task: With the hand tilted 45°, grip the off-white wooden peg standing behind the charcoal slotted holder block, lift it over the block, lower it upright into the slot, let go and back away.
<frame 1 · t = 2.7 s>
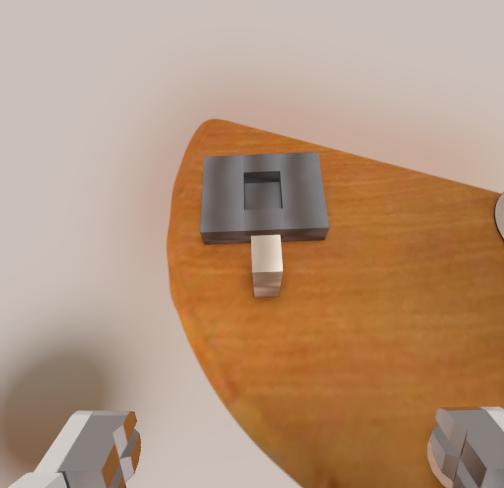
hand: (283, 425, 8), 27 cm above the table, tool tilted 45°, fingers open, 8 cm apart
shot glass: (455, 458, 30), on the table
slot holder: (262, 204, 44), on the table
peg: (266, 281, 39), on the table
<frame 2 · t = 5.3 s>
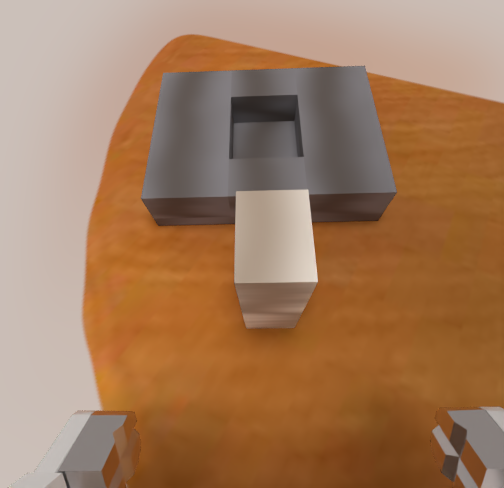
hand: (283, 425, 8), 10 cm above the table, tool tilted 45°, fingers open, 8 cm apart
slot holder: (264, 158, 25), on the table
peg: (269, 296, 20), on the table
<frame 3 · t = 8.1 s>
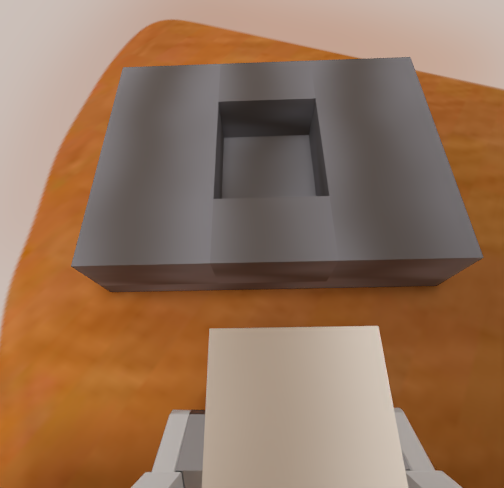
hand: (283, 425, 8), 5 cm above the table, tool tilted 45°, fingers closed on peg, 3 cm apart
slot holder: (267, 188, 18), on the table
peg: (276, 417, 13), on the table, touching gripper
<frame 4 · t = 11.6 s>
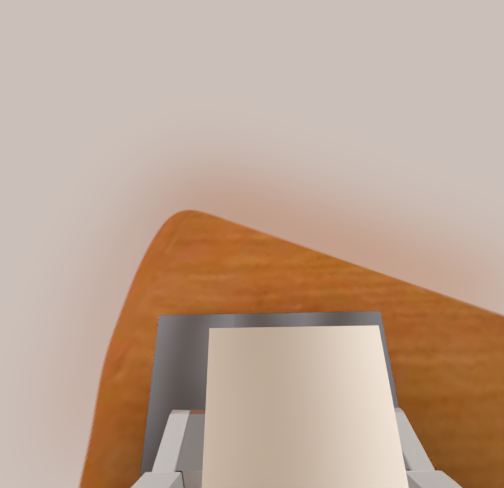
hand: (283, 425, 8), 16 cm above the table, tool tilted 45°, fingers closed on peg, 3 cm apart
slot holder: (270, 404, 23), on the table
peg: (276, 416, 13), point 11 cm above the table, touching gripper
when the fingers open (6 cm above the table, at t = 14.7 s): peg stays where it is, resting on slot holder.
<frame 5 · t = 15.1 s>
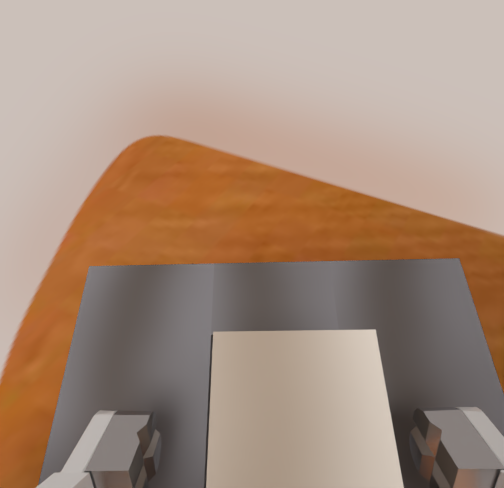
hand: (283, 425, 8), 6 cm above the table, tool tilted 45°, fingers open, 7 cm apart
slot holder: (274, 414, 14), on the table
peg: (277, 416, 13), point 1 cm above the table, touching slot holder
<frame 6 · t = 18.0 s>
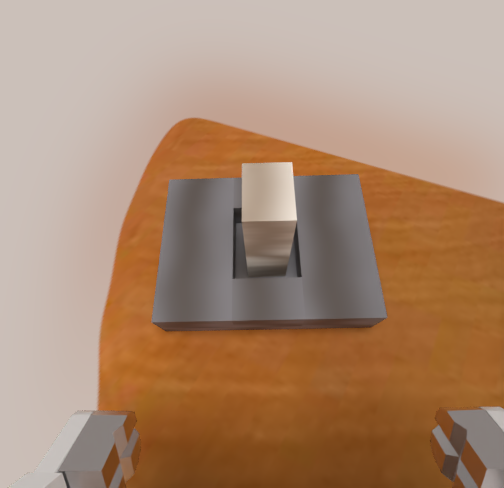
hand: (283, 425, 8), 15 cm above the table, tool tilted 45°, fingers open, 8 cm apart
slot holder: (265, 258, 27), on the table
peg: (266, 253, 26), point 1 cm above the table, touching slot holder
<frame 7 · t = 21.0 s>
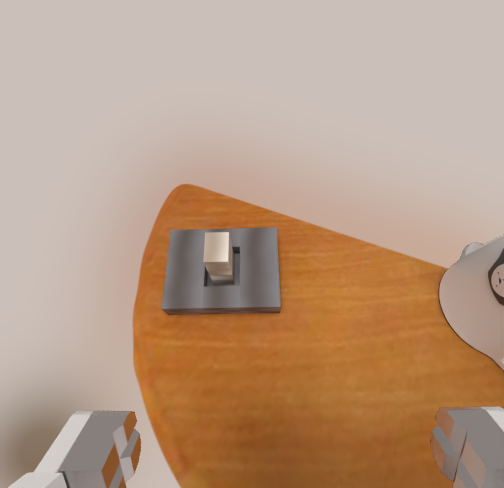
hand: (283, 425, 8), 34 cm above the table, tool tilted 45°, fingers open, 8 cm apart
slot holder: (225, 274, 47), on the table
peg: (224, 272, 46), point 1 cm above the table, touching slot holder
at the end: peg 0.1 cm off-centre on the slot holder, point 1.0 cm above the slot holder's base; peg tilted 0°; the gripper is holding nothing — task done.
